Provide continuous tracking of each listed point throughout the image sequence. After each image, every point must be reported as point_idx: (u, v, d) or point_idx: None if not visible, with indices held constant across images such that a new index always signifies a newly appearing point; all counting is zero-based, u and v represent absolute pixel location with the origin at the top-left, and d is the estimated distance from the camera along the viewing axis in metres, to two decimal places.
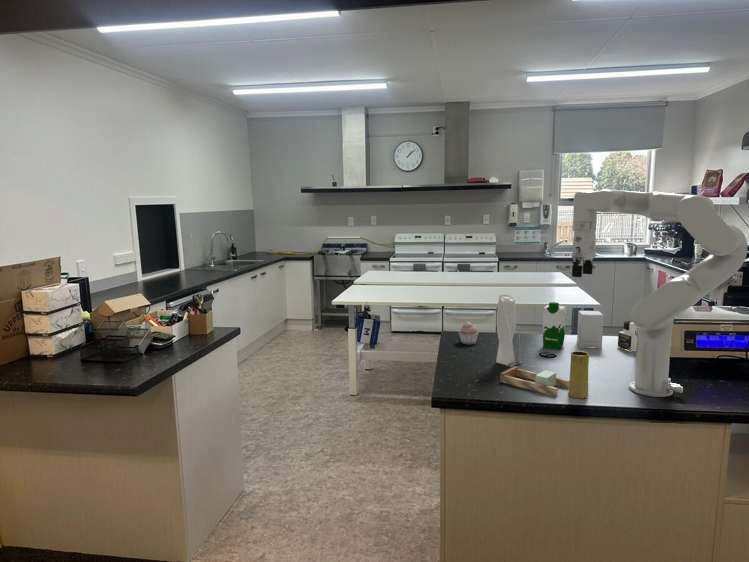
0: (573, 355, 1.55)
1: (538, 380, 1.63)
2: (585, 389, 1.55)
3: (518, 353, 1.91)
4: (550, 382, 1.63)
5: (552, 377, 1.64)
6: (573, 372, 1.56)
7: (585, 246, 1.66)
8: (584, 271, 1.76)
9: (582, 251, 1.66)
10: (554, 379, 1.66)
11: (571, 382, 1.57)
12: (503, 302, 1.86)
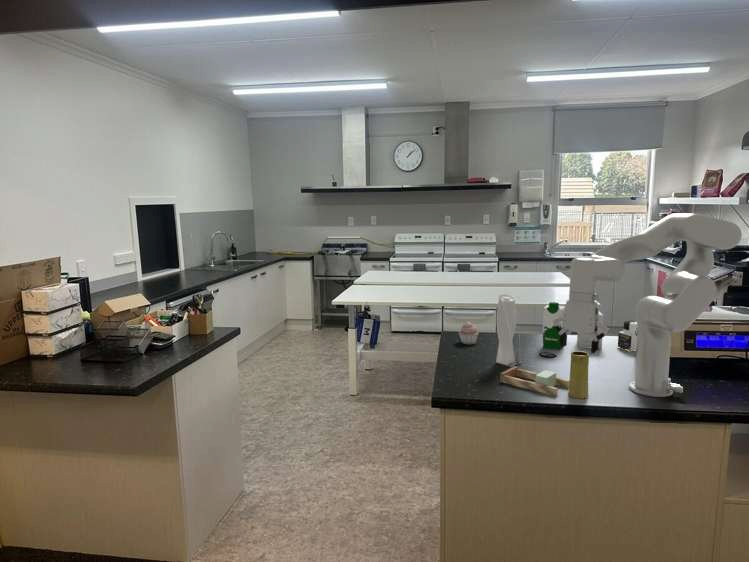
0: (573, 355, 1.55)
1: (538, 380, 1.63)
2: (585, 389, 1.55)
3: (518, 353, 1.91)
4: (550, 382, 1.63)
5: (552, 377, 1.64)
6: (573, 372, 1.56)
7: None
8: (563, 344, 1.58)
9: None
10: (554, 379, 1.66)
11: (571, 382, 1.57)
12: (503, 302, 1.86)
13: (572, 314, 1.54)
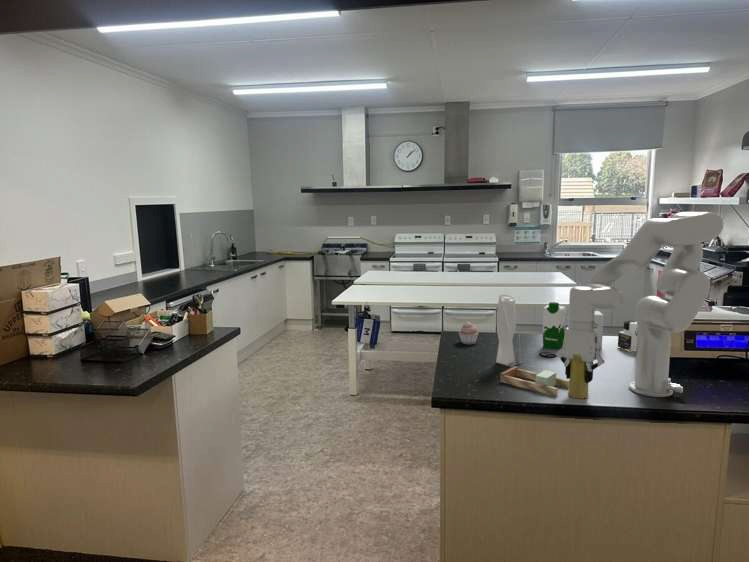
0: (573, 355, 1.55)
1: (538, 380, 1.63)
2: (585, 389, 1.55)
3: (518, 353, 1.91)
4: (550, 382, 1.63)
5: (552, 377, 1.64)
6: (573, 372, 1.56)
7: None
8: (569, 376, 1.58)
9: (598, 351, 1.54)
10: (554, 379, 1.66)
11: (571, 382, 1.57)
12: (503, 302, 1.86)
13: (572, 342, 1.55)
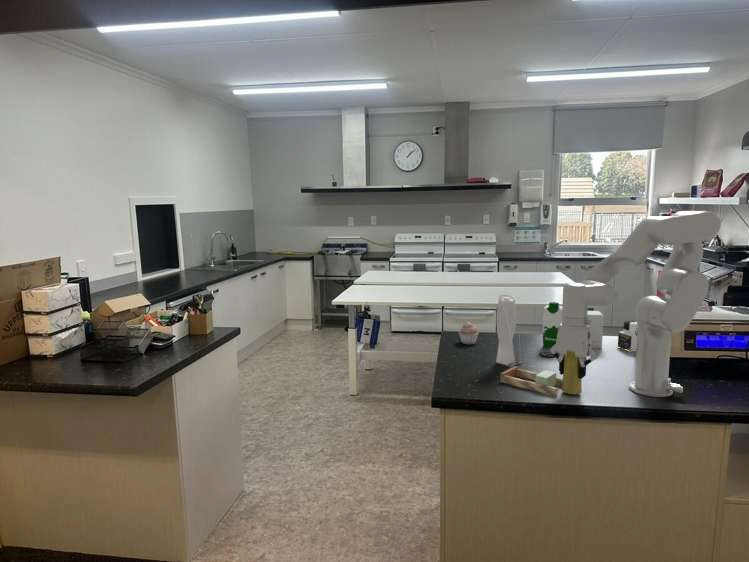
0: None
1: (538, 380, 1.63)
2: (578, 384, 1.57)
3: (518, 353, 1.91)
4: (550, 382, 1.63)
5: (552, 377, 1.64)
6: (566, 368, 1.57)
7: None
8: (562, 371, 1.60)
9: (591, 347, 1.55)
10: (554, 379, 1.66)
11: (564, 378, 1.58)
12: (503, 302, 1.86)
13: (565, 338, 1.56)
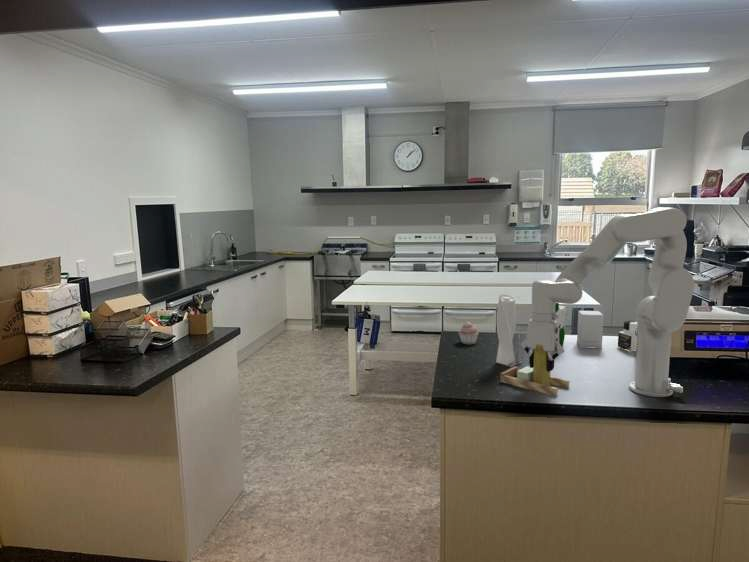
0: (536, 345, 1.64)
1: (519, 376, 1.68)
2: (547, 377, 1.64)
3: (518, 353, 1.91)
4: (531, 377, 1.68)
5: None
6: (536, 361, 1.64)
7: None
8: (532, 365, 1.67)
9: (558, 341, 1.62)
10: None
11: (534, 371, 1.65)
12: (503, 302, 1.86)
13: (534, 333, 1.64)
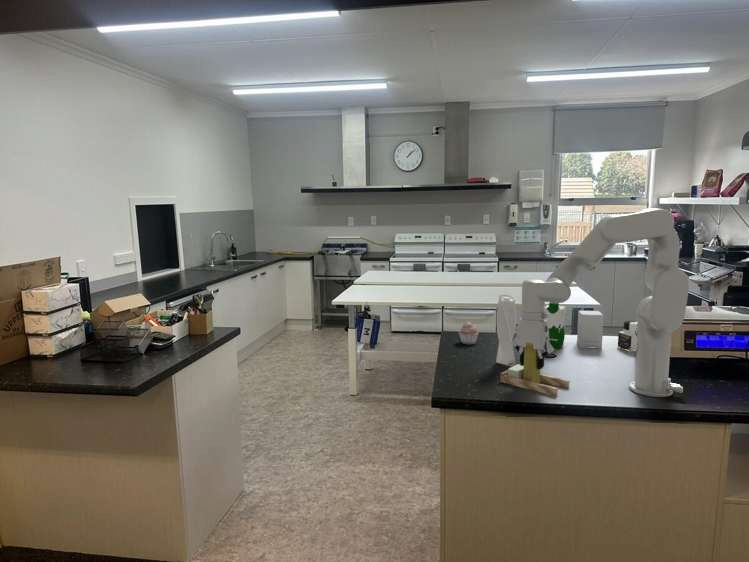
0: (526, 343, 1.66)
1: (510, 374, 1.70)
2: (537, 375, 1.66)
3: (518, 353, 1.91)
4: (522, 375, 1.70)
5: None
6: (526, 359, 1.67)
7: None
8: (523, 363, 1.70)
9: (548, 340, 1.65)
10: None
11: (524, 369, 1.68)
12: (503, 302, 1.86)
13: (524, 332, 1.66)
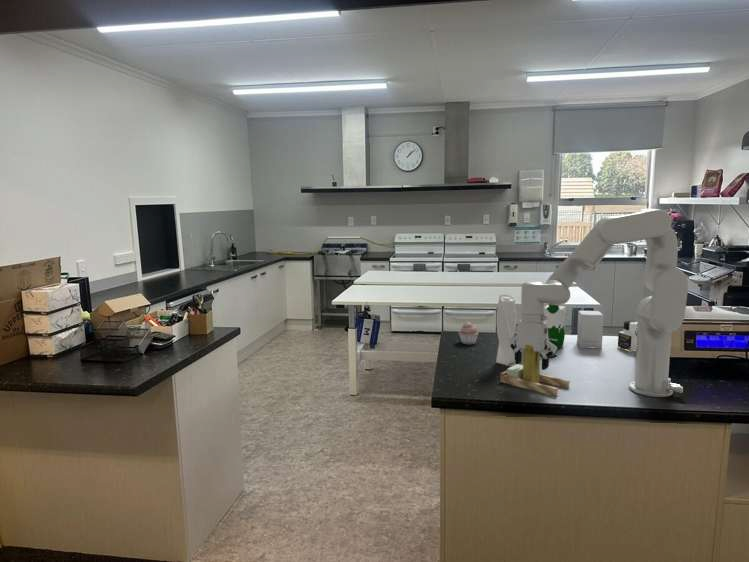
0: (525, 346, 1.67)
1: (509, 374, 1.71)
2: (536, 377, 1.66)
3: None
4: (521, 375, 1.71)
5: None
6: (525, 362, 1.67)
7: None
8: (518, 361, 1.71)
9: None
10: None
11: (524, 371, 1.68)
12: (503, 302, 1.86)
13: (524, 334, 1.66)
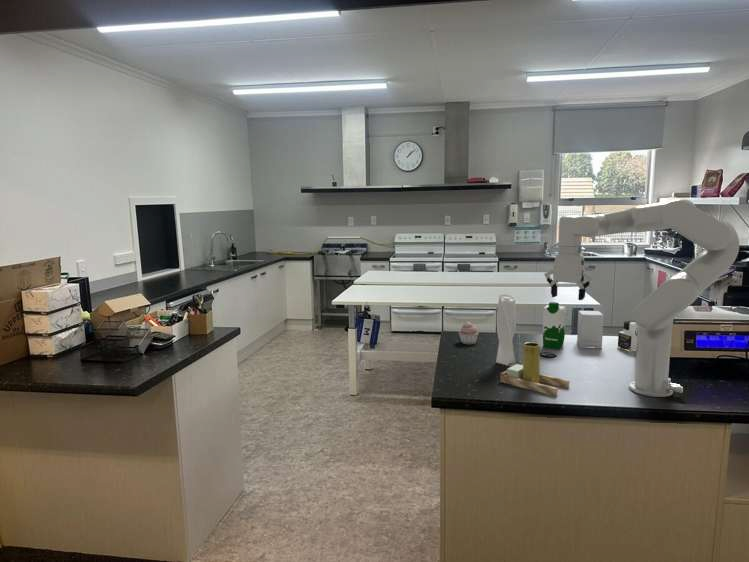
0: (525, 346, 1.67)
1: (509, 374, 1.71)
2: (536, 377, 1.67)
3: (518, 353, 1.91)
4: (521, 375, 1.71)
5: None
6: (525, 362, 1.67)
7: None
8: (554, 294, 1.77)
9: None
10: None
11: (524, 371, 1.68)
12: (503, 302, 1.86)
13: (561, 266, 1.73)
